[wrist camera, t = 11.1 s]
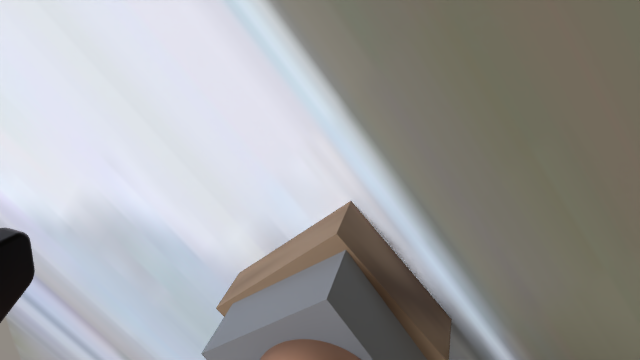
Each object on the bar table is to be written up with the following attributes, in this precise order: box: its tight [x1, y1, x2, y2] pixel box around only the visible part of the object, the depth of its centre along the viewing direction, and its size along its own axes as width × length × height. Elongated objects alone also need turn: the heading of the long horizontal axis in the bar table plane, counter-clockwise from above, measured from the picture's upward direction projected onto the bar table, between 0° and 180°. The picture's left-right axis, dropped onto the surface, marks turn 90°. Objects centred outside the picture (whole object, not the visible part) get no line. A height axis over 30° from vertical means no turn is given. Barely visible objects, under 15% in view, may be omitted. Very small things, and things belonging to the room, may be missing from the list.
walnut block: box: [216, 201, 451, 360], centre depth 24 cm, size 7×7×3 cm
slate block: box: [201, 250, 427, 360], centre depth 21 cm, size 6×6×3 cm
